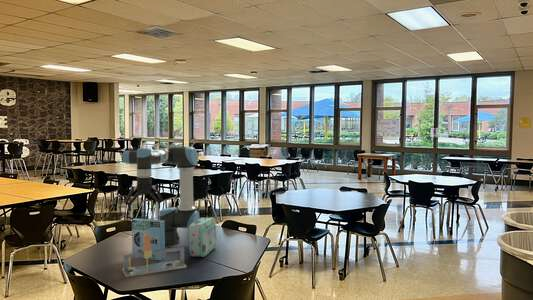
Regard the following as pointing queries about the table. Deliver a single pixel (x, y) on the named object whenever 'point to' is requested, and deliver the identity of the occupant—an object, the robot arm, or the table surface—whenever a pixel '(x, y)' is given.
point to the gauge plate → (154, 268)
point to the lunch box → (202, 237)
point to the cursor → (147, 248)
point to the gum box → (156, 236)
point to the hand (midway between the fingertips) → (144, 216)
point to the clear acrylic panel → (126, 256)
